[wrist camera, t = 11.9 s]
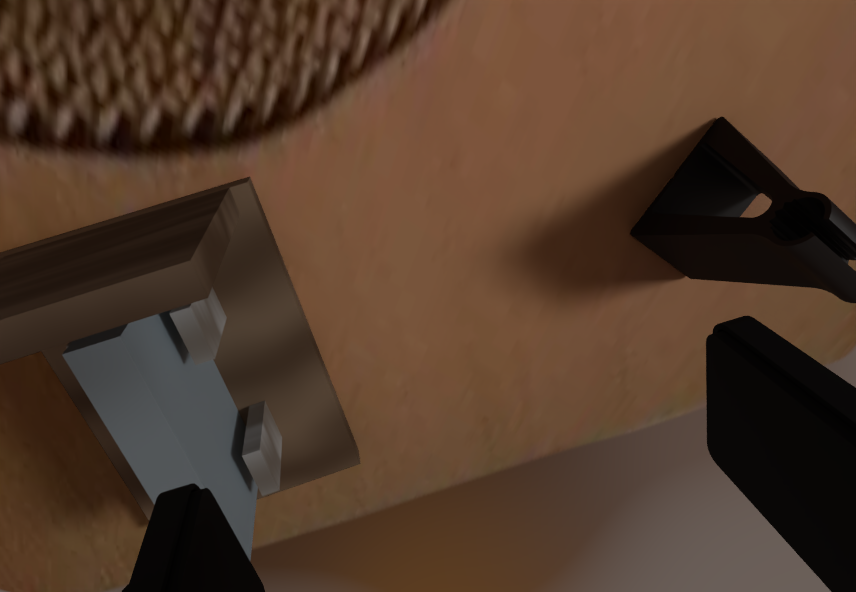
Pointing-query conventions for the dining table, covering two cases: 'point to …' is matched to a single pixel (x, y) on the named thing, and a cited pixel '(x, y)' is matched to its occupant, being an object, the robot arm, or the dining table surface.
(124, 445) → the blue-grey rectangular block
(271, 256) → the wooden peg rack
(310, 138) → the dining table surface
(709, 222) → the phone stand
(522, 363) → the dining table surface
